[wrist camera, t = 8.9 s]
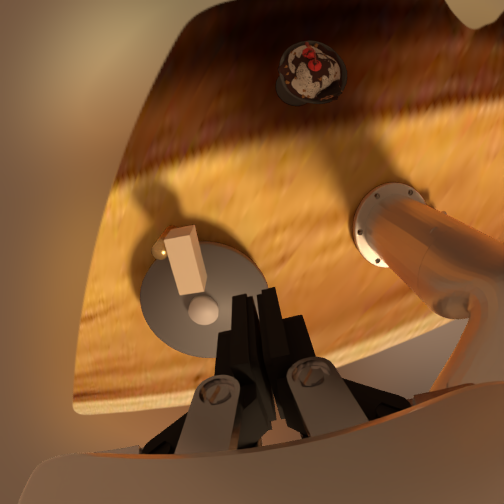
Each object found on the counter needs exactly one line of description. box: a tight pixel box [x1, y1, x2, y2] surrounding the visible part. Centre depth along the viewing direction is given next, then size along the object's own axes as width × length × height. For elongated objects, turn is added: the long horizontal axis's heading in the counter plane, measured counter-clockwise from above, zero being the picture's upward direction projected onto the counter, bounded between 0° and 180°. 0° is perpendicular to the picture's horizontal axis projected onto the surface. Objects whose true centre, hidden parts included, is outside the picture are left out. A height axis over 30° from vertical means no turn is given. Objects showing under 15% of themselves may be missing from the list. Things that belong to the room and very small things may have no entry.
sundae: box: [276, 41, 347, 106], centre depth 27 cm, size 7×7×15 cm
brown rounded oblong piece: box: [151, 226, 177, 260], centre depth 39 cm, size 8×15×7 cm, turn 8°
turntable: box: [140, 225, 268, 358], centre depth 39 cm, size 20×18×6 cm
